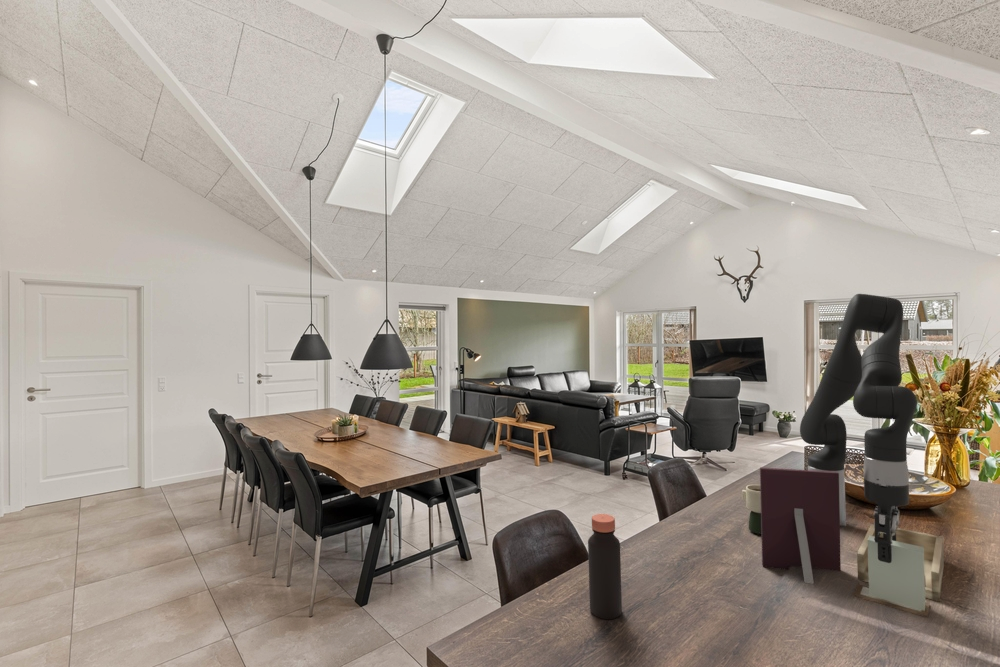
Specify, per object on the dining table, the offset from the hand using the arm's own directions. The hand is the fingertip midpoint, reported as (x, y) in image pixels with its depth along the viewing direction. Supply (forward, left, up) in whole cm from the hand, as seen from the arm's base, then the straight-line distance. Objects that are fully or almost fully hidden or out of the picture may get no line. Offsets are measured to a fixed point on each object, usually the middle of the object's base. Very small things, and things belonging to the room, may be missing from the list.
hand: (887, 554), depth 102 cm
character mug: (-32, +23, -11) cm, 41 cm away
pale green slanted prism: (+1, 0, -9) cm, 9 cm away
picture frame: (-16, +1, -11) cm, 19 cm away
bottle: (-44, -42, -11) cm, 62 cm away
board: (0, 0, -11) cm, 11 cm away
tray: (+1, +18, -11) cm, 21 cm away
